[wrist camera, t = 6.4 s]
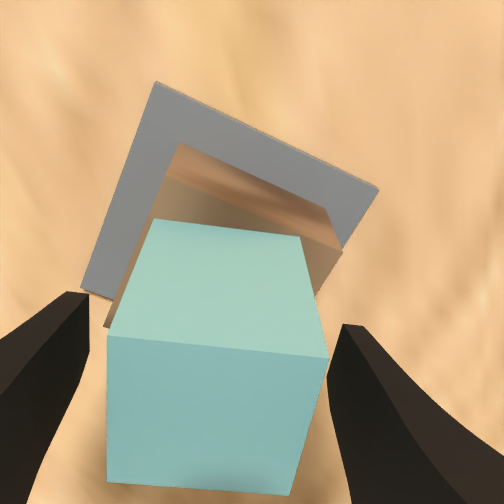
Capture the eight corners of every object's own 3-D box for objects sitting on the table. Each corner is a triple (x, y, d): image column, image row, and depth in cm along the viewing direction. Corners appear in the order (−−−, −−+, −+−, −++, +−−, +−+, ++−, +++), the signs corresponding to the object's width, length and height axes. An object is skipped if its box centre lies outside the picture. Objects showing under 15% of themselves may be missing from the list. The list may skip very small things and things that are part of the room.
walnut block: (325, 208, 18) (343, 252, 15) (257, 322, 20) (259, 380, 17) (179, 141, 17) (165, 175, 13) (125, 272, 19) (103, 326, 16)
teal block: (299, 236, 15) (329, 358, 10) (275, 348, 17) (289, 496, 12) (153, 218, 14) (106, 335, 9) (147, 335, 16) (106, 481, 11)
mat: (376, 186, 18) (379, 190, 18) (271, 351, 22) (272, 357, 21) (156, 81, 16) (154, 82, 16) (82, 282, 20) (79, 287, 19)
